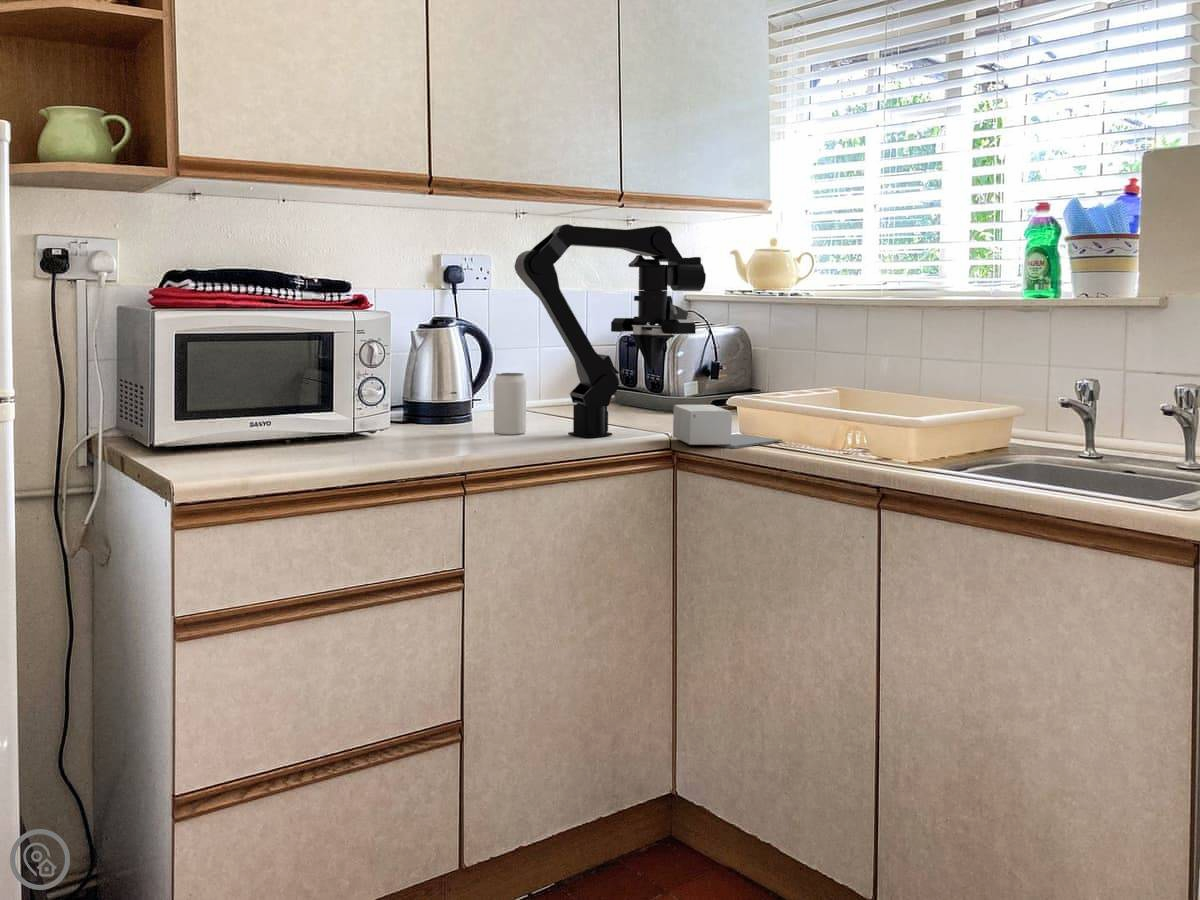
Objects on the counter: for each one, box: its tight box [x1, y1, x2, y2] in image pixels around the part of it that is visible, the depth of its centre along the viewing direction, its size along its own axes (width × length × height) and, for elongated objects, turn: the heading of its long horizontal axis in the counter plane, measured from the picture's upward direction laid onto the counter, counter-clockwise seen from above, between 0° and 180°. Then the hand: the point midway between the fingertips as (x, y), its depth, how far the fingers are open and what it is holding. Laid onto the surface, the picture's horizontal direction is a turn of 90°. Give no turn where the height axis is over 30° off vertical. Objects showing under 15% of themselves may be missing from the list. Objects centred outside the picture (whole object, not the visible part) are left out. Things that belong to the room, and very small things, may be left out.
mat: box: [711, 433, 783, 449], centre depth 204 cm, size 14×11×1 cm
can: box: [493, 372, 527, 436], centre depth 214 cm, size 6×6×12 cm
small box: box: [672, 404, 733, 446], centre depth 201 cm, size 8×6×13 cm
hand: (651, 369), depth 214 cm, fingers closed
